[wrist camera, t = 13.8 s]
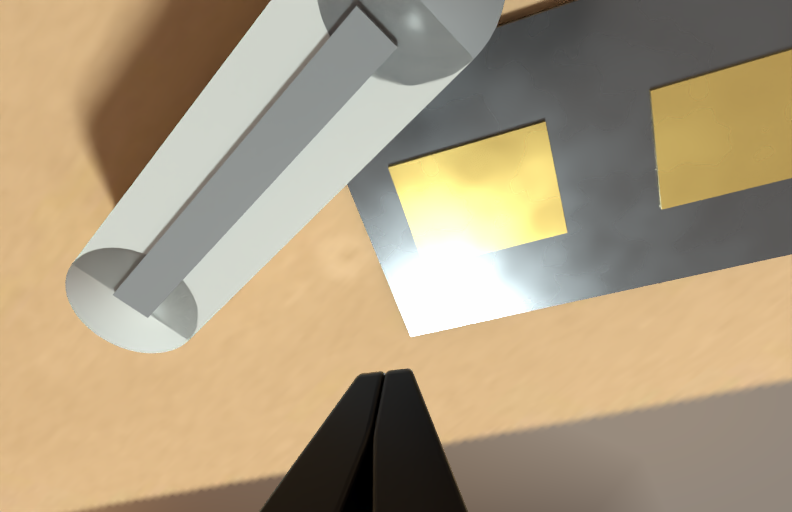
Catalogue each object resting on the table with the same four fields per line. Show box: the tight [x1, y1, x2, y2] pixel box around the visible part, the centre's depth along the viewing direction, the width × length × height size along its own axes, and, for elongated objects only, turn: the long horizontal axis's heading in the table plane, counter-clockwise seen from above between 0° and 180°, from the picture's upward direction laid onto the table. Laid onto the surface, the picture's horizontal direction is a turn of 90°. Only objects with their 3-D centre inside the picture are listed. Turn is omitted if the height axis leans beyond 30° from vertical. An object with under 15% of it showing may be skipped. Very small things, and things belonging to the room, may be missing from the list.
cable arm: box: [66, 0, 505, 353], centre depth 15 cm, size 4×16×3 cm, turn 136°
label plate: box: [347, 0, 792, 337], centre depth 16 cm, size 16×14×1 cm
